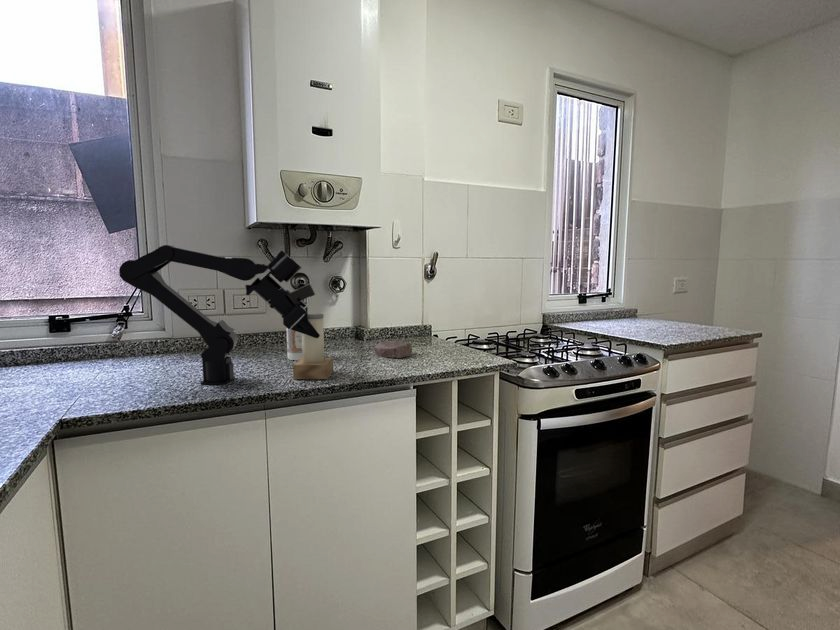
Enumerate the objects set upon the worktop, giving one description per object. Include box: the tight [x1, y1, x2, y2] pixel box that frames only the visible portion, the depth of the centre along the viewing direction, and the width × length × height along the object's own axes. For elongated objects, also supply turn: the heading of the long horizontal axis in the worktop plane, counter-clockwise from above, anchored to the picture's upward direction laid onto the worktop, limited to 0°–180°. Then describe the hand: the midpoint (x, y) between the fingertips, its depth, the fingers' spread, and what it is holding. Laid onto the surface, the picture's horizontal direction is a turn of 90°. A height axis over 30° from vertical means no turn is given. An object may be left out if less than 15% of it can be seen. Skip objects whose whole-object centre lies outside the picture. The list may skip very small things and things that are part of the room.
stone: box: [373, 340, 413, 359], centre depth 147 cm, size 12×9×5 cm
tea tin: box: [302, 312, 325, 364], centre depth 120 cm, size 6×6×13 cm
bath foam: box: [285, 326, 303, 362], centre depth 141 cm, size 7×7×20 cm
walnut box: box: [292, 357, 335, 380], centre depth 121 cm, size 9×9×4 cm
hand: (318, 334), depth 121 cm, fingers open, 9 cm apart
